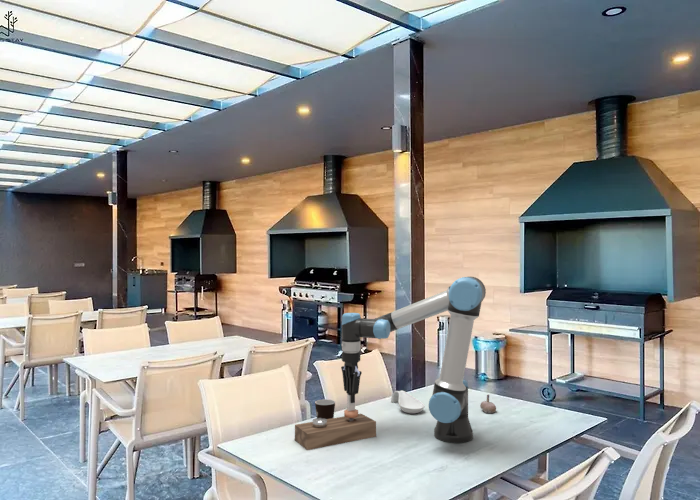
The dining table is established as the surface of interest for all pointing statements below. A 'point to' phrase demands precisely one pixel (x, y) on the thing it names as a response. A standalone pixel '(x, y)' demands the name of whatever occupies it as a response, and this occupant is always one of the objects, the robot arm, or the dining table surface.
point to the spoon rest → (407, 402)
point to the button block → (335, 432)
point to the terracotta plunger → (351, 414)
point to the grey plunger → (319, 422)
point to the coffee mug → (325, 408)
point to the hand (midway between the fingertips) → (351, 410)
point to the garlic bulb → (488, 406)
